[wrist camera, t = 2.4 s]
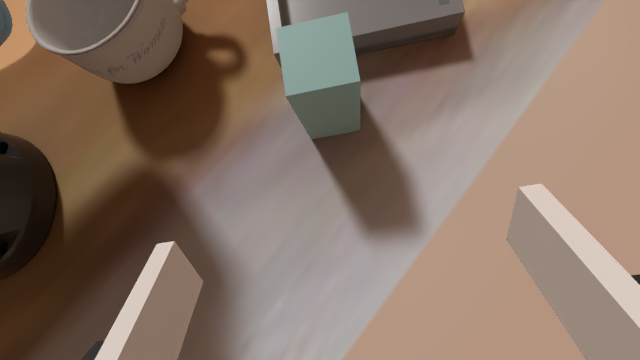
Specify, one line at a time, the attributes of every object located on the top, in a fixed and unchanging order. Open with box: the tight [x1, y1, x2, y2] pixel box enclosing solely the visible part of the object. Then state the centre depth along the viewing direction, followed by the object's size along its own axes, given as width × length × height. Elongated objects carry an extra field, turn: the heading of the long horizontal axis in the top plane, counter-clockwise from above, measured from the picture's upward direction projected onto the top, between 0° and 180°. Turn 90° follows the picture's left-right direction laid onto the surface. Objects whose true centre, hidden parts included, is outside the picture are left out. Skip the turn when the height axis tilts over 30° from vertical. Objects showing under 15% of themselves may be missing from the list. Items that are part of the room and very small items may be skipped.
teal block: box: [276, 12, 360, 139], centre depth 23 cm, size 4×4×10 cm
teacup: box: [26, 0, 188, 84], centre depth 28 cm, size 14×11×8 cm
